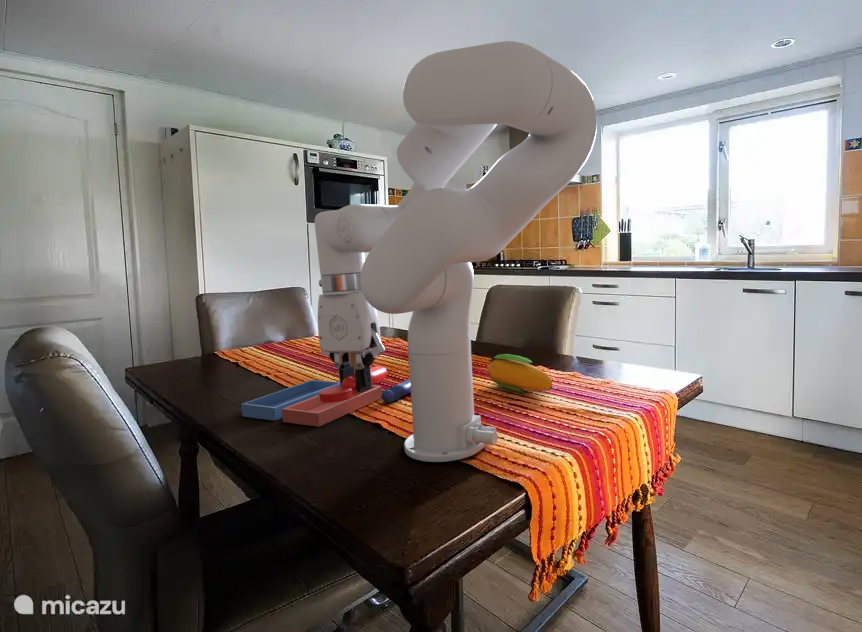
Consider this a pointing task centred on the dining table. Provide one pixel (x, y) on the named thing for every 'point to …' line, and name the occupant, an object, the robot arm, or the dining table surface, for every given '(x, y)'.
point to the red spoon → (350, 386)
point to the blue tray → (284, 399)
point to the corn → (518, 374)
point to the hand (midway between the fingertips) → (356, 388)
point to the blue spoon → (396, 392)
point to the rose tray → (328, 408)
